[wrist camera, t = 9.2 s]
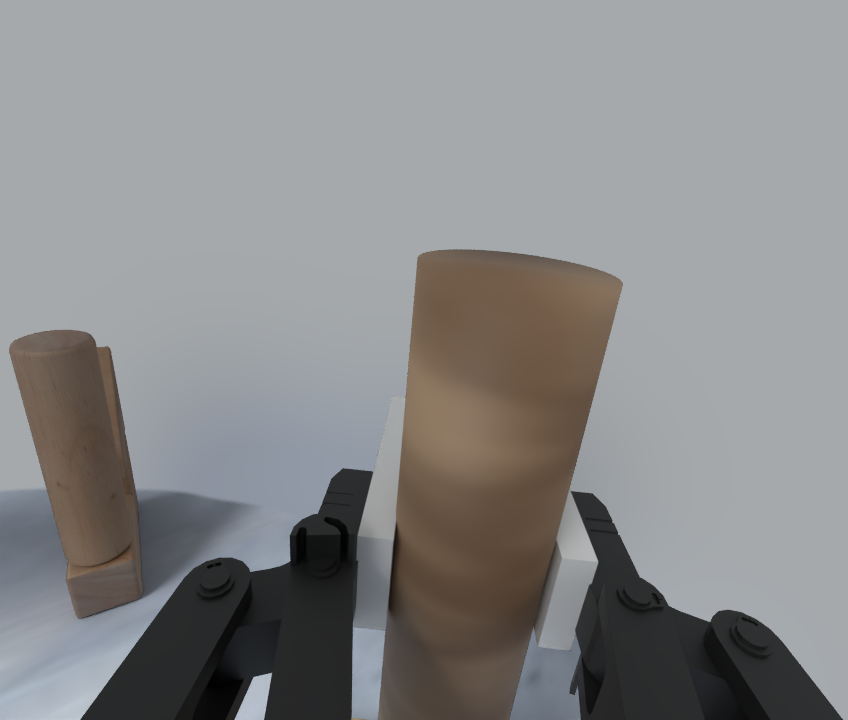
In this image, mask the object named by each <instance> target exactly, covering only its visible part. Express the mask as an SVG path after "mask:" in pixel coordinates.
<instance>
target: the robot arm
mask: <svg viewBox="0 0 848 720" xmlns="http://www.w3.org/2000/svg"><path fill="white" fill-rule="evenodd" d="M405 399H406V397H397V396H392V399H391V403H390V408H389V412H388V416H387V420H386V424H385V428H384V432H383V436H382V440H381V444H380V448H379V452H378V456H377V460H376V464H375V468H374V472H372V471H362V470H353V469H344V468H343V469H342V470H341V471H340V472H338V473H337V474H336V475H335V476H334V477H333V478H332V479H331V482H330V484H329V487H328V489H327V493H326V495H325V497H324V500H323V503H322V505H321V507H320V510H319V513H318V514H314V515H311V516H309V517H306V518H304V519H302V520H301V521H300V522H299V523H298V524H297V525H295V526H294V528H293V530H292V532H291V534H290V560H291V561H290V562H289V563H286V564H284V565H282V566H280V567H276V568H272V569H266V570H260V571H254V572H250V570H249V568H248V567H247V566H246V565H245V564H244V562H243V561H240V560H237V559H234V558H217V559H213V560H210V561H206V562H204V563H203V564H201V565H199V566H197V567H196V568H194V569H193V570H192V571H191V572H190V573H189V574H188V575H187V576H186V577H185V578H184V579H183V581H182V582H181V583H180V585H179V586H178V587H177V589H176V590H175V591H174V593H173V594H172V596H171V597H170V598H169V600H168V601H167V602H166V604H165V605H164V606H163V608H162V609H161V611H160V612H159V613H158V615H157V616H156V617H155V619H154V620H153V621H152V623H151V624H150V626H149V627H148V628H147V630H146V631H145V632H144V634H143V635H142V636H141V638H140V639H139V640H138V642H137V643H136V645H135V646H134V647H133V649H132V650H131V651H130V653H129V654H128V655H127V657H126V658H125V660H124V661H123V662H122V664H121V665H120V666H119V668H118V669H117V670H116V672H115V673H114V675H113V676H112V677H111V679H110V680H109V681H108V683H107V684H106V685H105V687H104V688H103V690H102V691H101V692H100V694H99V695H98V696H97V698H96V699H95V700H94V702H93V703H92V705H91V706H90V707H89V709H88V710H87V711H86V713H85V714H84V715H83V717H82V718H81V720H234V719H235V717H236V715H237V713H238V710H239V708H240V706H241V704H242V701H243V699H244V697H245V695H246V693H247V690H248V688H249V686H250V684H251V681H252V679H253V677H255V676H259V675H263V674H268V673H272V677H271V683H270V689H269V695H268V701H267V707H266V712H265V718H264V720H351V715H352V640H353V627H357V628H366V629H375V630H384V631H386V623H387V616H388V609H389V598H390V587H391V575H392V564H393V552H394V541H395V529H396V504H397V492H398V481H399V469H400V457H401V446H402V434H403V423H404V411H405ZM534 630H535V635H536V640H537V645H538V647H541V648H550V649H559V650H568V651H571V647H572V644H573V641H574V638H575V635H576V636H577V639H578V643H579V646H580V650H581V654H580V657H579V660H578V663H577V666H576V670H575V673H574V676H573V679H572V682H571V686H570V694H573V695H575V692H576V689H577V686H578V690H579V702H580V714H581V720H843V719H842V718H841V717H840V715H839V714H838V713H837V712H836V710H835V709H834V708H833V706H832V705H831V704H830V703H829V701H828V700H827V699H826V697H825V696H824V695H823V694H822V692H821V691H820V690H819V688H818V687H817V686H816V684H815V683H814V682H813V681H812V680H811V678H810V677H809V676H808V674H807V673H806V672H805V670H804V669H803V668H802V667H801V665H800V664H799V663H798V662H797V660H796V659H795V658H794V656H793V655H792V654H791V652H790V651H789V650H788V649H787V647H786V646H785V645H784V643H783V642H782V641H781V640H780V639H779V638H778V637H777V636H776V635H775V634H774V633H773V632H772V631H771V630H770V629H769V628H768V627H766V626H765V625H764V624H762V623H761V622H759V621H758V620H756V619H754V618H752V617H750V616H748V615H746V614H744V613H742V612H737V611H732V610H723V611H718V612H717V613H716V614H715V615H714V616H713V617H712V619H711V622H708V621H705V620H702V619H699V618H697V617H694V616H691V615H689V614H686V613H683V612H680V611H678V610H676V609H674V608H672V607H670V606H668V604H667V602H666V600H665V598H664V596H663V595H662V594H661V593H660V592H659V591H658V590H657V589H656V588H655V587H654V586H653V585H651V584H650V583H648V582H646V581H645V580H644V579H642V578H640V577H639V575H638V573H637V571H636V569H635V566H634V565H633V562H632V560H631V558H630V556H629V554H628V552H627V550H626V548H625V546H624V544H623V542H622V540H621V537H620V535H618V531H617V529H616V527H615V525H614V523H612V519H611V517H610V515H609V513H608V510H607V509H606V507H605V506H604V504H602V503H601V502H600V501H599V500H598V499H597V498H596V497H595V496H594V495H593V494H591V493H582V492H573V491H570V488H569V492H568V496H567V500H566V504H565V508H564V511H563V515H562V519H561V523H560V527H559V530H558V534H557V538H556V542H555V546H554V550H553V553H552V557H551V561H550V565H549V569H548V572H547V576H546V580H545V584H544V588H543V592H542V595H541V599H540V603H539V607H538V611H537V614H536V618H535V622H534Z"/></svg>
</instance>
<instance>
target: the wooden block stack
mask: <svg viewBox="0 0 848 720" xmlns="http://www.w3.org/2000/svg"><path fill="white" fill-rule="evenodd" d="M9 353H10V356H11V360H12V364H13V367H14V371H15V374H16V378H17V382H18V385H19V389H20V393H21V397H22V400H23V404H24V407H25V411H26V415H27V419H28V422H29V426H30V430H31V433H32V437H33V441H34V444H35V448H36V452H37V455H38V459H39V463H40V466H41V470H42V474H43V477H44V481H45V485H46V488H47V492H48V496H49V499H50V503H51V507H52V510H53V514H54V518H55V521H56V525H57V529H58V532H59V536H60V540H61V543H62V547H63V551H64V554H65V558H66V559H67V560H68V566H67V575H66V582H67V586H68V589H69V593H70V596H71V600H72V603H73V607H74V611H75V614H76V616H77V617H78V618H84V617H87V616H90V615H93V614H96V613H99V612H102V611H105V610H107V609H110V608H113V607H116V606H119V605H122V604H125V603H128V602H131V601H134V600H137V599H139V598H140V597H141V596H142V593H143V589H142V572H141V554H140V537H139V525H138V523H139V519H138V502H137V496H136V490H135V485H134V479H133V474H132V468H131V463H130V457H129V452H128V446H127V441H126V435H125V427H124V421H123V416H122V410H121V405H120V399H119V394H118V388H117V384H116V377H115V372H114V366H113V361H112V356H111V350H110V348H109V347H96V342H95V340H94V338H93V337H92V336H91V335H90V334H88V333H86V332H81V331H75V330H53V331H44V332H39V333H34V334H31V335H27V336H24V337H22V338H19V339H17V340H15V341H14V342H13V343H11V345H10V348H9Z"/></svg>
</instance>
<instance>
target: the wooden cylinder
mask: <svg viewBox="0 0 848 720" xmlns="http://www.w3.org/2000/svg"><path fill="white" fill-rule="evenodd" d="M622 286H623V283H622V282H621V280H619V279H618V278H617V277H615V276H613V275H611V274H608V273H606V272H603V271H600V270H597V269H594V268H591V267H587V266H583V265H579V264H575V263H570V262H566V261H561V260H556V259H550V258H544V257H539V256H532V255H525V254H517V253H509V252H498V251H484V250H438V251H431V252H426V253H423V254H421V255H419V256H418V260H417V272H416V284H415V296H414V307H413V318H412V330H411V341H410V353H409V365H408V377H407V388H406V399H405V411H404V423H403V434H402V446H401V457H400V469H399V481H398V492H397V504H396V529H395V541H394V552H393V564H392V575H391V587H390V598H389V609H388V616H387V623H386V632H385V644H384V655H383V667H382V679H381V690H380V702H379V713H378V720H509V718H510V714H511V710H512V706H513V702H514V699H515V695H516V691H517V687H518V683H519V679H520V676H521V672H522V668H523V664H524V660H525V656H526V653H527V649H528V645H529V641H530V637H531V634H532V630H533V626H534V622H535V618H536V614H537V611H538V607H539V603H540V599H541V595H542V592H543V588H544V584H545V580H546V576H547V572H548V569H549V565H550V561H551V557H552V553H553V550H554V546H555V542H556V538H557V534H558V530H559V527H560V523H561V519H562V515H563V511H564V508H565V504H566V500H567V496H568V492H569V488H570V484H571V481H572V477H573V473H574V469H575V466H576V462H577V458H578V454H579V450H580V446H581V443H582V438H583V435H584V431H585V427H586V423H587V420H588V416H589V412H590V408H591V404H592V401H593V397H594V393H595V389H596V385H597V381H598V378H599V374H600V370H601V366H602V362H603V359H604V355H605V351H606V347H607V343H608V339H609V335H610V332H611V328H612V324H613V320H614V316H615V312H616V309H617V305H618V301H619V297H620V294H621V290H622Z"/></svg>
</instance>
